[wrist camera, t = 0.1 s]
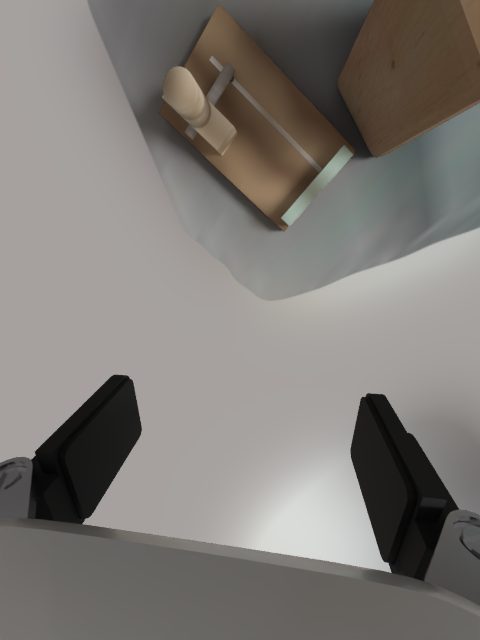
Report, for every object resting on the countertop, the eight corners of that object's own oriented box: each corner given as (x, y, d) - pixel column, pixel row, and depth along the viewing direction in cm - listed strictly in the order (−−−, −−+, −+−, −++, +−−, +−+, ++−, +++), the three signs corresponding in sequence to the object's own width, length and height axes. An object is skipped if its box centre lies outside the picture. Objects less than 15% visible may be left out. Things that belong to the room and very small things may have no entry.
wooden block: (332, 83, 31) (415, -113, 12) (420, 7, 27) (713, -413, 9) (372, 163, 33) (493, 98, 14) (457, 101, 30) (750, -81, 11)
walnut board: (222, 16, 30) (214, -12, 26) (351, 154, 33) (360, 146, 29) (164, 118, 34) (151, 106, 30) (283, 230, 37) (284, 232, 33)
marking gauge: (206, 45, 29) (178, -21, 21) (260, 101, 30) (253, 59, 22) (167, 115, 32) (128, 81, 24) (217, 163, 33) (197, 146, 25)
